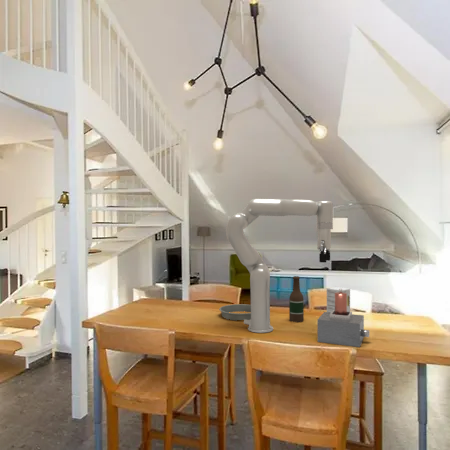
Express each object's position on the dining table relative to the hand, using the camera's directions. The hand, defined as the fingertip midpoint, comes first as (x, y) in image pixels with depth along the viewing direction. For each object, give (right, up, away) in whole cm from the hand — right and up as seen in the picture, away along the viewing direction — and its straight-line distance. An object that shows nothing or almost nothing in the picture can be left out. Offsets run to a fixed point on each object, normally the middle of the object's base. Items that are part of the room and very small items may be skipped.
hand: (324, 261), depth 187 cm
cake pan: (-40, -35, +33) cm, 62 cm away
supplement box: (+14, -34, +24) cm, 44 cm away
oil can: (+4, -26, -13) cm, 30 cm away
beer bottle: (-10, -34, +21) cm, 41 cm away
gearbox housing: (+5, -34, -13) cm, 37 cm away
